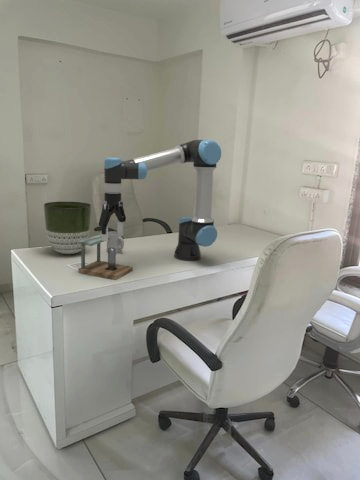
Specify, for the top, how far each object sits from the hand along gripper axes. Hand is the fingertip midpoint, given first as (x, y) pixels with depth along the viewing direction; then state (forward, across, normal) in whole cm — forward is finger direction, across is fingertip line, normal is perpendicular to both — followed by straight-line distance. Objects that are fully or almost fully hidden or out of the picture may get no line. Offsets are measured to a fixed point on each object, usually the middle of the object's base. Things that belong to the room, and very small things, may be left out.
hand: (112, 238), depth 172 cm
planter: (+17, -17, -38) cm, 45 cm away
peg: (+17, 0, 0) cm, 17 cm away
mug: (+18, -32, -17) cm, 41 cm away
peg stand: (+17, 0, -3) cm, 17 cm away
